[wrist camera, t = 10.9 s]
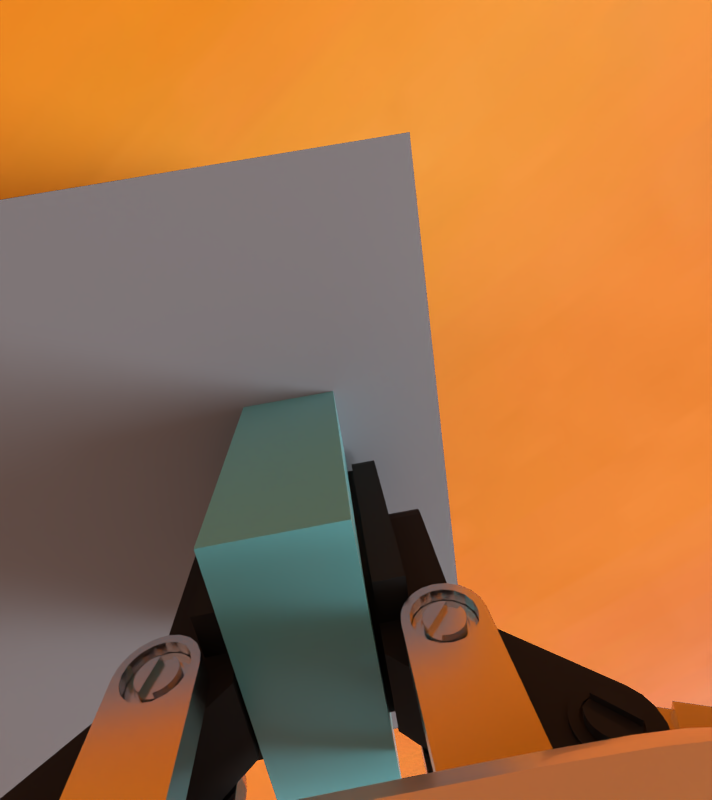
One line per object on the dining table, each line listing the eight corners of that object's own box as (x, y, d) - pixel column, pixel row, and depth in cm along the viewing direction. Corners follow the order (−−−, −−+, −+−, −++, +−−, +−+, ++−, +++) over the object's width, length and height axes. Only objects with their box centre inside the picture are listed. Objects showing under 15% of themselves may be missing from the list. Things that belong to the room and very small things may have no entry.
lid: (453, 657, 17) (546, 941, 10) (-136, 773, 16) (-443, 1155, 10) (392, 147, 11) (511, 43, 5) (-504, 296, 11) (-1826, 418, 4)
